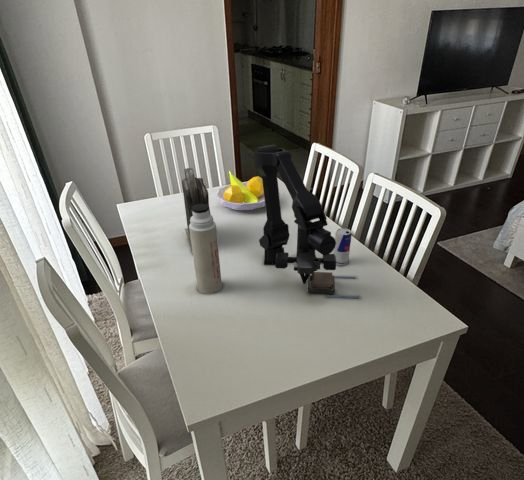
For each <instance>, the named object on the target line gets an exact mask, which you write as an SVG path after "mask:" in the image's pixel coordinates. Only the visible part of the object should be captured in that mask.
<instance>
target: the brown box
mask: <svg viewBox="0 0 524 480" xmlns="http://www.w3.org/2000/svg"><path fill="white" fill-rule="evenodd" d="M334 276H335V275H333V271H332V272H330V271H329V272H328V271H327V272H326V271H313V274H310V275H309V277H308V279H307V293H308V294H311V295H312V294H314V295H334V294H336V282H335V281H336V279H335V278H334ZM314 286H323V287H324V286H325V287H326V286H327V287H328V286H329V288H319V287H317V288H316V287H314Z"/></svg>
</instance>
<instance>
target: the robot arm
mask: <svg viewBox="0 0 524 480" xmlns="http://www.w3.org/2000/svg"><path fill="white" fill-rule="evenodd" d="M252 159H253V162H254V166H255V169H256V171H257V172H258V173H259V174H260V175H261V178H262V182H263V190H264V198H265V206H264V207H265V214H266V221H265V223H264V226H263V235H262V236H261V237H260V238H259V239H258V242H259V246H260V247H261V248H262V249H263V251H264V253H263V254H264V255H263V258H264V261H263V265H267V266H268V265H274V267H275V268H276V269H286V268H288V266H289V264H293V270H294V271H296V273H298V275H299V276H300V279H301V282H302V284H303V285H306V284H307V282H308V277H309V275H311V274H313V271H314V272H318V270H321V265H322V268H323V269H324V270H325V271H335V270H337V264H336V256H335V255H334V253H332V252H334V248H335V245H336V241H335V237H334V236H332V232H331V231H329V230H328V229H325V228H324V227H326V226H328V225H329V223H328V221H327V216H326V214H325V212H324V209H323V206H322V204H321V202H320V201H319V199H318V198H317V196H316V195H315V194H314V193H313V192H311V191H310V190H309V189H307V187H306V185H305V182H304V181H303V179H302V177H301V175H300V173H299V171H298V170H297V167H296V166H295V163H294V162H293V160H292V154H291V152H290V151H289V150H285V148H283V147H278V146H277V144H269V145H263V146H259V147H258V146H257V147H256V148H255V150H254V151H253V154H252ZM278 174H279V176H280V178H281V180H282V182H283V183H284V186H285V187H286V189H287V191H288V193H289V195H290V197H291V200H292V201H291V202H292V203H291V209H292V212H293V216H294V218H295V219H294V220H293V222H294V224H296V225H297V235H296V236H297V237H296V255H295V256H289V252H285V247H283V246H286V245H288V242H289V239H290V235H291V234H290V231H289V230H290V229H289V224H288V223H286V221H284V220H283V218H282V207H281V198H280V191H279V190H280V189H279V181H278ZM314 220H315V221H314ZM316 252H318V253H319V254H320V255H322V257H317V256H316Z"/></svg>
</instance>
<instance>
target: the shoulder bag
mask: <svg viewBox="0 0 524 480" xmlns="http://www.w3.org/2000/svg"><path fill="white" fill-rule="evenodd" d="M183 170H184V178H182V179H181V187H182V195H183V201H184V209H185V218H186V226H187V228H185V229H184V232H185V233H186V234H185V235H186V237H187V240H188V243H189V246H190V249H191V250H192V245H191V238H190V231H189V225H190V223H191V222H190V218H191V217H192V216H193V211H192V207H193V206H194V205H197V204H205V205H208V207H209V214H210V215H212V214H211V209H210V197H209V191H208V188H207V186H206V185H205V183H204V178H202V177H195V172H194V168H193V167H187V168H185V169H183ZM191 252H192V251H191ZM192 254H193V252H192Z"/></svg>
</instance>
